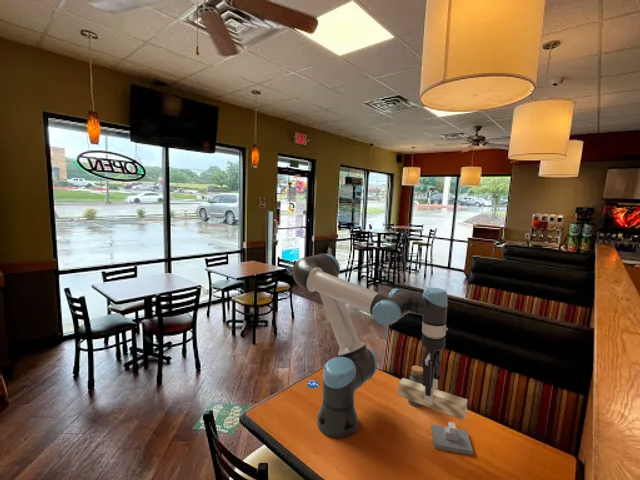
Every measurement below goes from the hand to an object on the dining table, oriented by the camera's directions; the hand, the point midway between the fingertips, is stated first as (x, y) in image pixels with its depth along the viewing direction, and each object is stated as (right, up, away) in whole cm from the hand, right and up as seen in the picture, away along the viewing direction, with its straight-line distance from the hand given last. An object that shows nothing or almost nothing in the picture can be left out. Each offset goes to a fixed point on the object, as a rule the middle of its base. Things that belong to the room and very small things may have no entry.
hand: (430, 399), depth 109 cm
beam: (0, -2, 0) cm, 2 cm away
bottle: (+2, -13, +23) cm, 26 cm away
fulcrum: (+8, -15, +2) cm, 17 cm away
